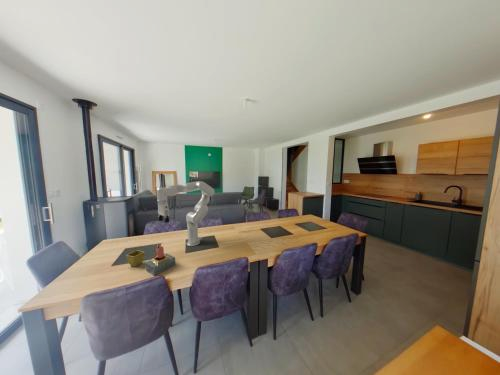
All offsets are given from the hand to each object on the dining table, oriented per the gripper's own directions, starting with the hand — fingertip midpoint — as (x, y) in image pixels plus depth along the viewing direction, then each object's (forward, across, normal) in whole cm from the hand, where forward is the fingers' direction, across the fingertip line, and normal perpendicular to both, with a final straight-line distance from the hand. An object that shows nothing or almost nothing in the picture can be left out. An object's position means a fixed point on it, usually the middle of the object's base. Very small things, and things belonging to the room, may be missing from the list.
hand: (164, 221), depth 146 cm
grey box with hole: (+28, -19, +15) cm, 37 cm away
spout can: (+26, -19, +14) cm, 35 cm away
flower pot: (+28, +2, +23) cm, 37 cm away
